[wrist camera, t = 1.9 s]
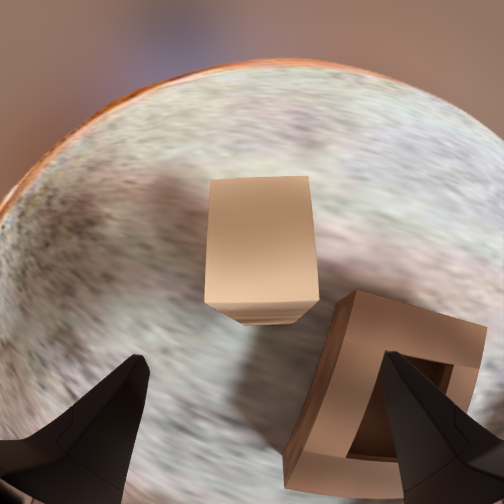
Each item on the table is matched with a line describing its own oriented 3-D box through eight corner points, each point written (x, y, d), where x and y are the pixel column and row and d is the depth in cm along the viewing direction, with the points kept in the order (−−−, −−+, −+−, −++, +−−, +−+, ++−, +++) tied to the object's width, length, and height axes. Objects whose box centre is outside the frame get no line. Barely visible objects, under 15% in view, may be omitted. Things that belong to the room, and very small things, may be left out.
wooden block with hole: (401, 471, 15) (428, 496, 10) (282, 456, 17) (284, 488, 12) (448, 333, 19) (487, 327, 13) (336, 302, 20) (357, 289, 15)
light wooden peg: (292, 324, 20) (319, 300, 8) (244, 325, 20) (204, 302, 9) (290, 266, 22) (308, 176, 10) (244, 267, 22) (210, 180, 10)
